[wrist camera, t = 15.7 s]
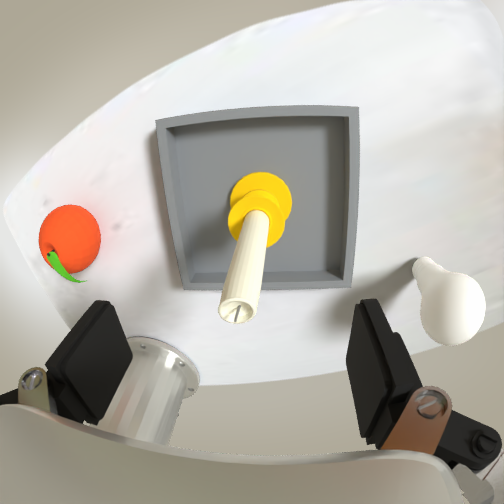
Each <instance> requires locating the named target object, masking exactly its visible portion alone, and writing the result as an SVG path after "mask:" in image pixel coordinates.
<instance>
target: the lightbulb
mask: <svg viewBox="0 0 504 504" xmlns="http://www.w3.org/2000/svg"><path fill="white" fill-rule="evenodd" d="M412 273H413V275H414V277H415V279H416V281H417V285H418V288H419V290H420V292H421V295H422V299H421V310H420V315H421V321H422V325H423V328H424V330H425V332H426V333H427V334H428V335H429V337H430V338H431V339H433V340H434V341H436V342H437V343H439V344H443V345H446V346H455V345H459V344H462V343H464V342H466V341H468V340H469V339H470V338H472V337H473V336H474V335H475V334H476V332H477V331H478V329H479V328H480V326H481V324H482V322H483V319H484V315H485V298H484V294H483V292H482V289H481V287H480V286H479V284H478V283H477V282H476V281H475V280H474V279H473V278H471V277H469V276H468V275H466V274H462V273H457V272H449V271H446V270H445V269H443V268H442V267H441V266H440V265H438V264H436V263H435V262H434V261H433V260H432V259H430V258H429V257H421V258H419V259H417V260H416V261H415V263H414V265H413V267H412Z"/></svg>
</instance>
